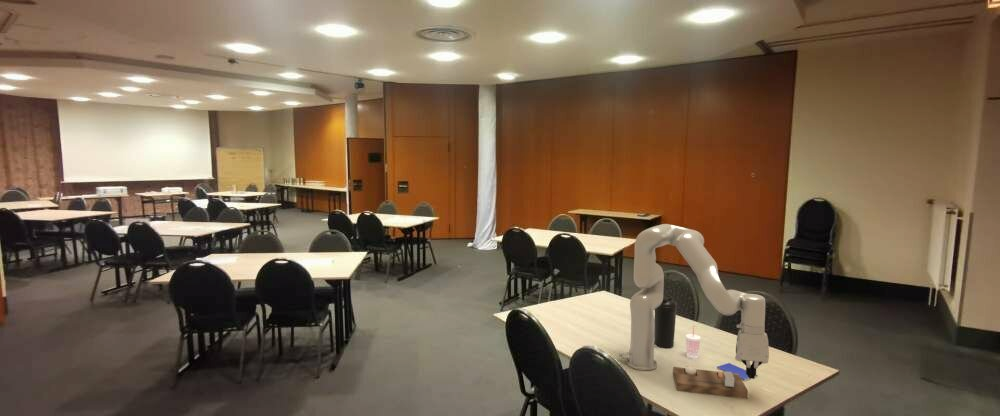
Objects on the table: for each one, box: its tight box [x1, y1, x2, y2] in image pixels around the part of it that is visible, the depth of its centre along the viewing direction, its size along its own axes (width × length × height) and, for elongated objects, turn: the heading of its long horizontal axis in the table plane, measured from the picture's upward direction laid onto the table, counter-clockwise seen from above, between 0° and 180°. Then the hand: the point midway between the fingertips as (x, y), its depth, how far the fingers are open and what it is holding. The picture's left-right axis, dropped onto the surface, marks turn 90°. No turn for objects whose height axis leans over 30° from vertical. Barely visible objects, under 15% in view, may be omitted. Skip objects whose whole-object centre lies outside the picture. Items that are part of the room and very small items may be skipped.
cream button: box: [684, 364, 697, 375], centre depth 181 cm, size 4×4×3 cm
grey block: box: [721, 371, 734, 387], centre depth 171 cm, size 3×5×4 cm, turn 165°
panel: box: [672, 366, 749, 400], centre depth 176 cm, size 24×14×3 cm, turn 75°
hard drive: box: [716, 362, 758, 382], centre depth 187 cm, size 2×8×12 cm
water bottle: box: [654, 294, 678, 349], centre depth 214 cm, size 10×10×23 cm
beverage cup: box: [685, 325, 702, 359], centre depth 202 cm, size 6×6×14 cm
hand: (750, 377), depth 169 cm, fingers closed
